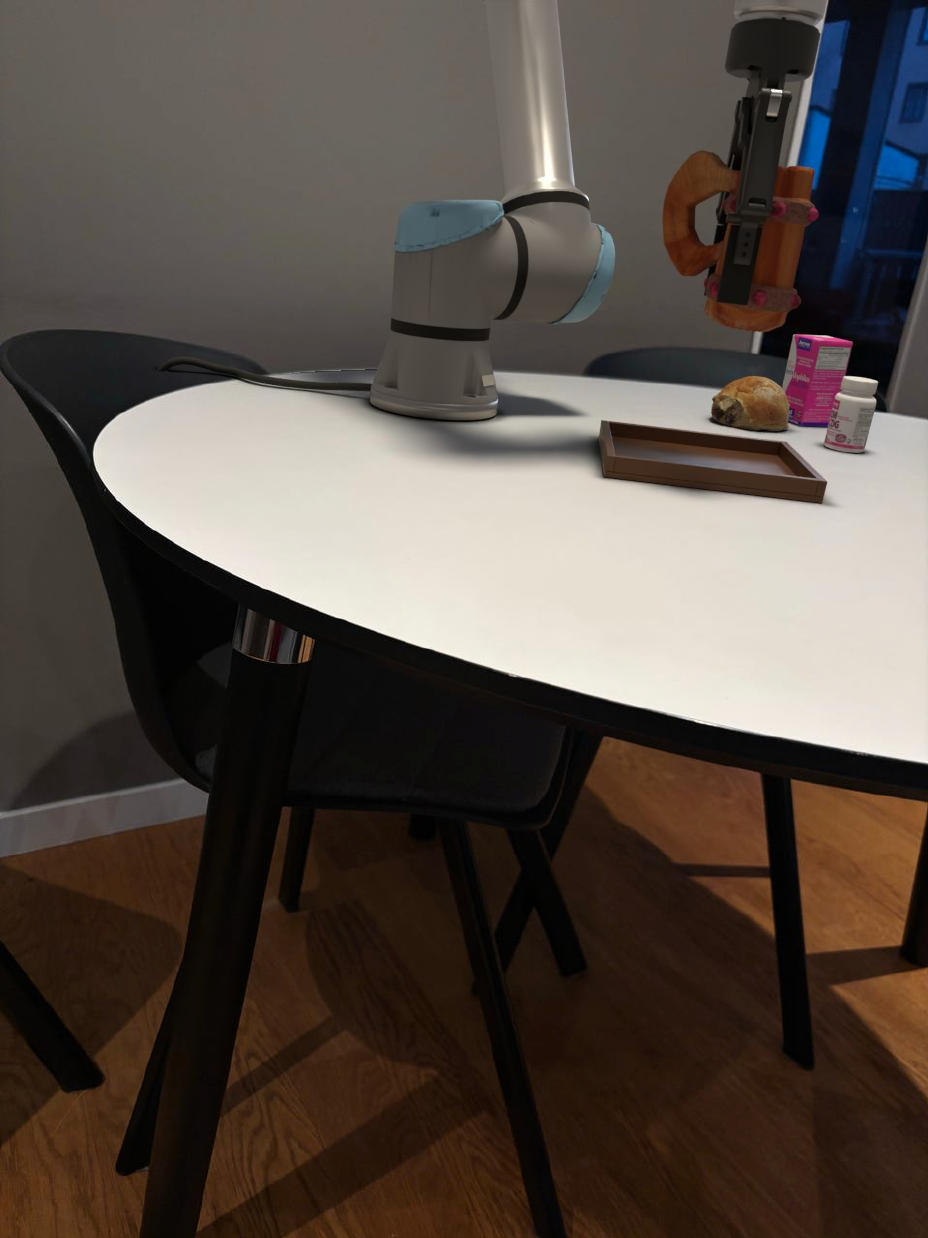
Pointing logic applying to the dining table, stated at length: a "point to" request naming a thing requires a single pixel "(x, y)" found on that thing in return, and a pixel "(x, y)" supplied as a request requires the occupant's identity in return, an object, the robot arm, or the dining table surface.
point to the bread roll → (752, 405)
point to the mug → (692, 257)
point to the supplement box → (814, 377)
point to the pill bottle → (851, 415)
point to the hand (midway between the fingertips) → (724, 299)
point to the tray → (707, 461)
